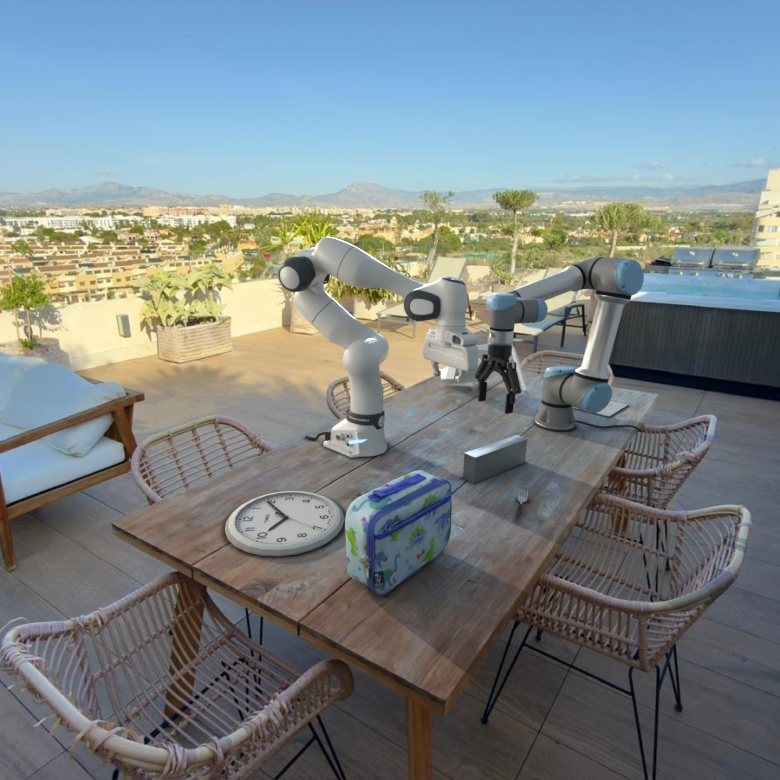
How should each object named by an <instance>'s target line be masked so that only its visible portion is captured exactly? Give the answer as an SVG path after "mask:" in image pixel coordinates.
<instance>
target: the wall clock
mask: <svg viewBox="0 0 780 780" xmlns="http://www.w3.org/2000/svg"><path fill="white" fill-rule="evenodd" d="M344 515H345V514H344V511H343V509H342V508H341V507H340V505H338V503H336V502H335V501H334V500H333V499H332V500H331V499H330V498H329V497H327V496H324V495H322V494H318V493H316V492H311V491H310V492H309V491H305V490H304V491H303V490H284V491H276V492H272V493H267V494H264V495H260V496H257V497H255V498H252V499H250V500H248V501H246V502H245V503H243V504H241V505H240V506H238V508H236V509H235V510H233V511H232V512H231V513H230V515H229V517H228V518H227V520H226V521H225V527H224V532H225V536H226V538H227V540H228V541H229V542H230V544H231V545H233V546H234V547H235V548H237V549H240V550H241V551H244V552H245V553H248V554H252V555H256V556H262V557H287V556H294V555H296V556H297V555H299V554H304V553H307V552H311V551H313V550H316V549H318V548H320V547H322V546H324V545H327V544H328V543H329V542H331V541H332V540H333V539H335V538H336V537H337V536H338V534H339V533H340V532H341V530H342V529H343V527H344V524H345V516H344Z"/></svg>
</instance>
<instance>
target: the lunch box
mask: <svg viewBox="0 0 780 780" xmlns="http://www.w3.org/2000/svg"><path fill="white" fill-rule="evenodd" d="M452 503H453V501H452V484H451V483H450V481H449V480H448V479H445V478H438V477H436V476H435V475H433V474H431V473H429V472H427V471H424V470H422V469H418V470H414V471H411V472H409V473H407V474H404V475H402V476H399V477H398V478H396V479H393V480H391V481H388V482H387V483H385V484H382V485H381V486H379V487H377V488H373V489H372V490H370V491H368V492H367V493H363V494H362V495H360V496H358V497H356V498H355V499H354V500H353V501H352V502H351V503H350V504H349V506H348V508H347V511H346V513H345V516H344V535H345V561H346V571H347V574H348V576H349V577H350V578H352V579H354V580H356V581H358V582H359V583H361V584H363V585H364V586H366V587H367V588H369V590H370V591H371V592H372V593H374V594H376V595H378V596H385V595H386V594H389V593H390V592H391V591H392V590H393V589H395V588H396V587H397V586H398V585H400V584H401V583H402V582H404V581H405V580H407V579H409V578H410V577H411V576H412V575H414V574H415V573H416V572H418V571H419V570H420V569H421V568H422V567H424V566H425V565H427V564H428V563H430V562H431V561H433V560H435V559H436V558H438V557H440V556H441V554H442V553H443V552H444V551H445V549H446V548H447V546H448V543H449V540H450V537H451V533H452V532H451V531H452V511H453V510H452V509H453V508H452V507H453V504H452Z"/></svg>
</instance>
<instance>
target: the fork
mask: <svg viewBox="0 0 780 780" xmlns="http://www.w3.org/2000/svg"><path fill="white" fill-rule="evenodd" d="M526 490H527V488H525V489H521V487H519V492H518V495H517V501H518V502H519V505H518V507H517V508H516V509H517V510H516V521H518V520H519V518H520V515H521V513H522V511H523V503H526V502H527V501H528V495H529V490H527V491H526Z"/></svg>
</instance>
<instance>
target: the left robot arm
mask: <svg viewBox="0 0 780 780" xmlns="http://www.w3.org/2000/svg"><path fill="white" fill-rule="evenodd" d="M277 277H278V281H279V283H280V285H281V286H282V287H283V288H284V289H285V290H286V291H288V292H291V293H294V294H293V297H292V298H293V299H292V300H293V304H294V307H296V309H297V310H298V311H299V313H300V314H301V315H302V316H303V318H305V320H306V321H307V322H308V323H309V324H310V325H311V326H313V327H314V329H315V330H317V331H318V332H319V333H320V334H321V335H322V336H323V337H324V338H325V339H327V341H329V342H330V343H333V344H336V345H337V346H340V347H341V348H343V349H344V353H343V356H342V365H343V367H344V369H345V370H346V374H347V378H348V384H349V389H350V390H349V395H350V397H349V398H350V399H349V400H350V405H349V406H350V407H349V408H347V409H346V410H344V411H343V415H346V417H345V418H343V419H342V420H341V421H339V422H338V423H336V424H335V425H334V426H332V425H331V426H330V427H328V428H327V429H326V430H325V431H322V432H319V433H318V434H316V436H315V437H312V436H308V435H305V436H304V439H307V440H311V441H316V440H318V439H319V438H320V437H321V436H324V441H323V447H324V448H327V449H329V450H331V451H334V452H336V453H338V454H341V455H343V456H346V457H349V458H352V459H354V458H355V459H356V458H361V457H363V458H364V457H375V456H379V455H382V454H384V453H386V452H387V450H388V448H389V447H388V445H387V444H388V443H387V441H386V437H385V436H386V434H385V420H386V419H385V408H384V391H385V390H384V385H383V383H382V379H381V372H380V370H381V364H382V363H383V362H384V361H385V360H386V359H387V357H388V354H389V351H390V345H389V341H388V340H387V338H386V337H385V335H383V334H381V333H379V332H376V331H375V330H373V329H372V328H370V327H369V326H368V325H366V324H365V323H363V322H361V321H360V320H358V319H357V318H356V317H354V316H353V315H352V314H351V313H350V312H349V311H348V310H347V309H346V308H344V307H343V306H342V305H341V304H340V303H339V302H338V301H336V299H334V297H333V296H331V295H330V294H329V293H328V292H327V291H326V289H325V285H326V284H328V283H329V282H330V277H333V278H335V279H336V280H339V281H341V282H342V283H344V284H346V285H348V286H351V287H355V288H358V289H382V290H386V291H388V292H390V293H393V294H396V295H397V296H400V297H401V298H404V300H403V309H404V312H405V315H406V316H407V317H408V318H409V319H411V320H412V321H415V322H426V321H431V320H432V321H435V328H434V329H435V330H434V329H431V328H430V329H428V330H427V331H426V332H425V337H424V340H423V346H422V357H423V359H425V360H428V361H430V365H431V367H432V370H433V376H434V377H441V376H440V375H441V369H440V367H439V364H441V365H444V366H446V367H448V366H450V367H454V368H457V369H458V372H459V375H458V377H455V382H456V383H459V385H460V384H464V383H463V377H464V376H465V374H466V373H467V372H469V371H474V370H475V369H476V368H477V366H478V347H477V346H478V345H477V344H479V340H480V339H479V336H478V335H476V334H475V333H474V332H473V331H471V330H470V329H468V328H467V322H466V314H467V311H468V288H467V284H466V283H465V282H464V281H463V280H462V279H460V278H457V277H453V276H441V277H440V278H438V279H437V280H436V281H434V282H432V283H429V282H427V283H425V282H420V281H417V280H415V279H413V278H411V277H409V276H407V275H405V274H403V273H401V272H399V271H397V270H395V269H393V268H391V267H389V266H388V265H386V264H384V263H383V262H381V261H379V260H378V259H376V258H375V257H374V256H372V255H371V254H369V253H368V252H366V251H364V250H362V249H361V248H359V247H357V246H356V245H353V244H352V243H349V242H347V241H344V240H342V239H340V238H336V237H332V236H324V237H322V238H320V240H318V242H317V243H316V244H315V245H312V246H310V247H308V248H305V249H302V250H299V251H298V252H296V253H294V254H293V255H292V256H289V257H287V258H286V259H284V260H283V261H282V262H281V264H280V265H279V267H278V269H277Z"/></svg>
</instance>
